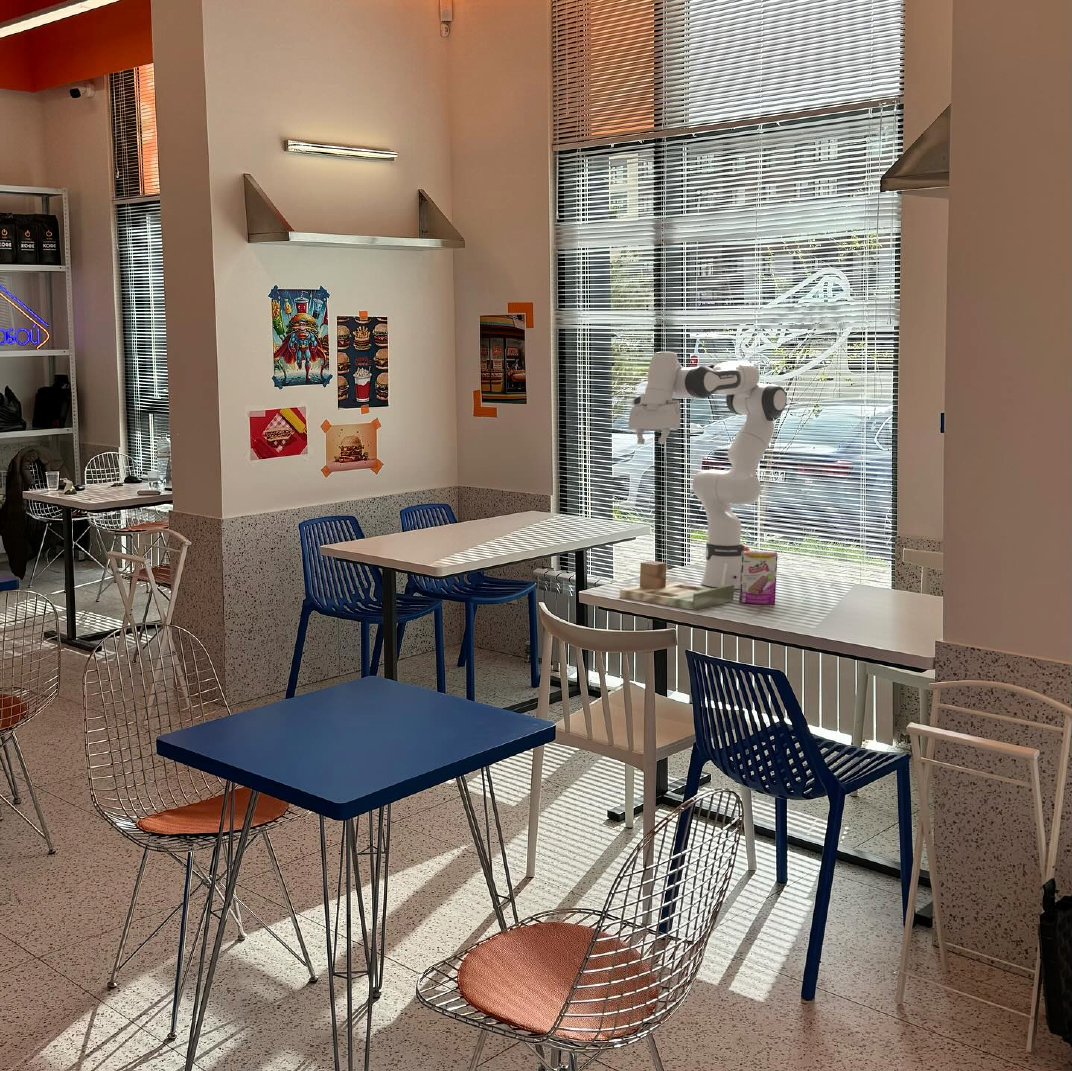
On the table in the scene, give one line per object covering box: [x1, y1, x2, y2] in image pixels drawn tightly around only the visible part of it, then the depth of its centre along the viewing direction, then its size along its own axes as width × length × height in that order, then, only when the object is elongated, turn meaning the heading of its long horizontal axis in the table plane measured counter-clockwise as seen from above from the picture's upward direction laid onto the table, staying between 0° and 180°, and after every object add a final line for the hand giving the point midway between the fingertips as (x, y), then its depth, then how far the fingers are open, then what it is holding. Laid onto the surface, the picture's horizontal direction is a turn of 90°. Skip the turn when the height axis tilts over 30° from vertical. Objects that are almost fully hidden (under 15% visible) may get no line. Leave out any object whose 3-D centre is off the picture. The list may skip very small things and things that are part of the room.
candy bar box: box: [738, 550, 779, 606], centre depth 394 cm, size 11×5×16 cm, turn 84°
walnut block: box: [639, 560, 667, 589], centre depth 406 cm, size 6×6×8 cm
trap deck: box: [619, 581, 735, 611], centre depth 400 cm, size 29×22×5 cm
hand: (650, 443), depth 394 cm, fingers open, 8 cm apart
